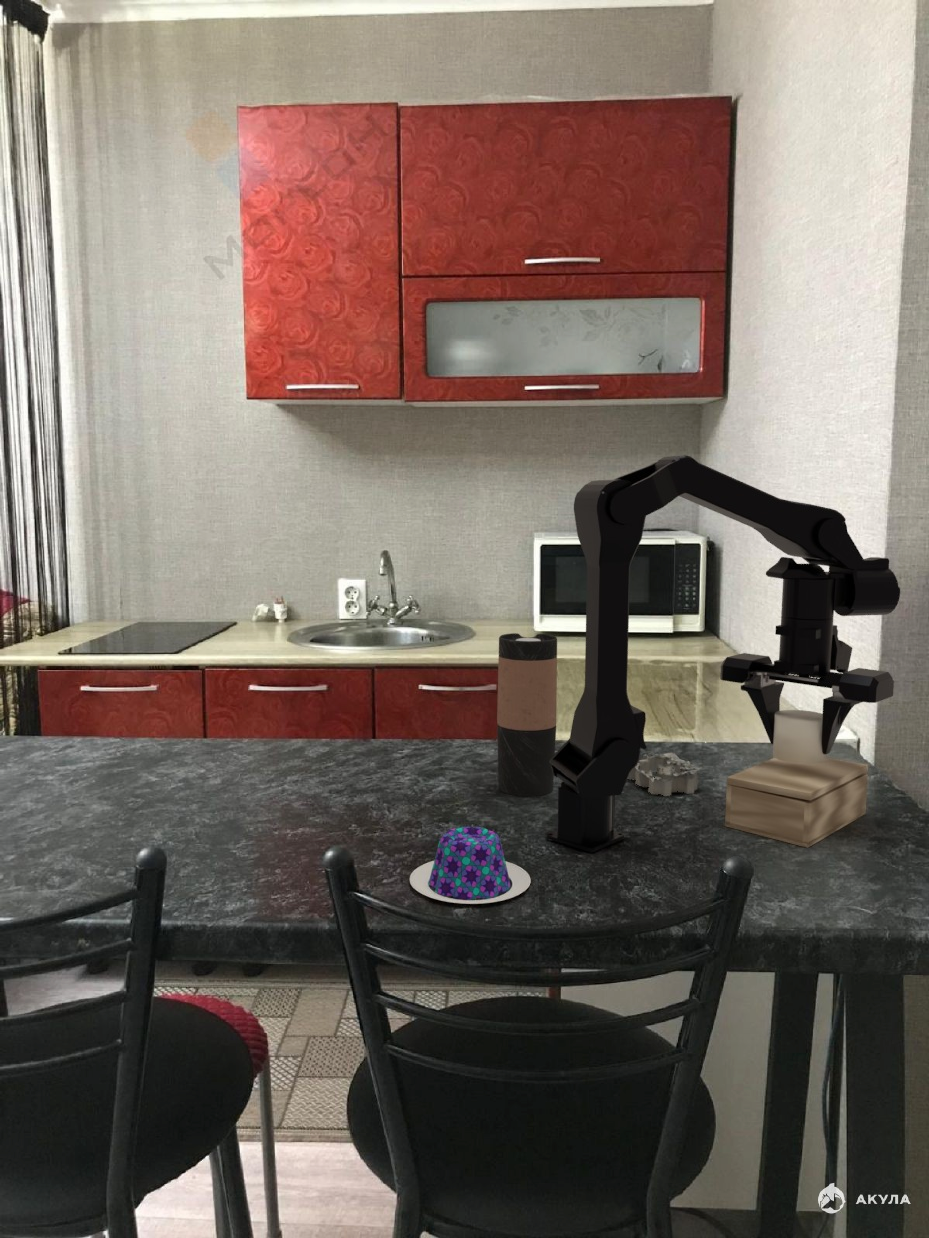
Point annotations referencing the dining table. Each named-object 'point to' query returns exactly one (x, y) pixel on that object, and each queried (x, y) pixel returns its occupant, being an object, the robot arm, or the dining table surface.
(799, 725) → the beige tapered cylinder
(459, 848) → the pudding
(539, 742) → the travel mug
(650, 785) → the egg carton
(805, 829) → the storage box
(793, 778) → the box lid
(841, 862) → the dining table surface
